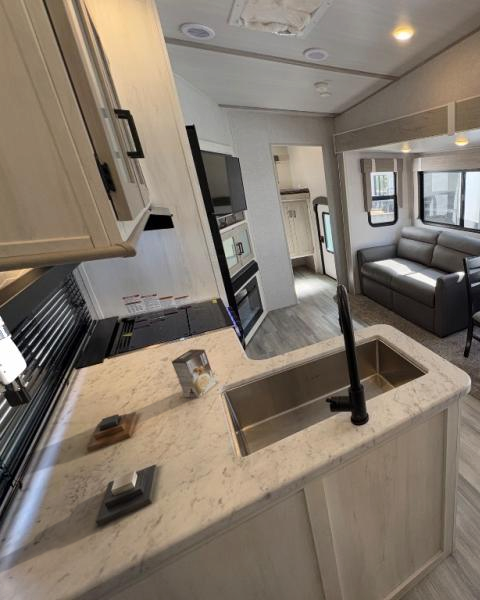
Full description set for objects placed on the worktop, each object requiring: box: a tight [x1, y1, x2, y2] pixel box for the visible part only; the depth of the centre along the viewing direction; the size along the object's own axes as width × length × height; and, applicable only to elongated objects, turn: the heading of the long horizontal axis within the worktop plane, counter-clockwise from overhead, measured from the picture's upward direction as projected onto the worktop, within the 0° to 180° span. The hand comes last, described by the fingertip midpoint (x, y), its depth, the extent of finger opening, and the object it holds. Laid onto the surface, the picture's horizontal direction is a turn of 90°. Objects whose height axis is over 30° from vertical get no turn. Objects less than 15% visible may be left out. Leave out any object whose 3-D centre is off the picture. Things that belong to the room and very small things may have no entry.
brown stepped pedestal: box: [86, 411, 138, 453], centre depth 99 cm, size 10×12×4 cm
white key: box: [111, 470, 138, 496], centre depth 76 cm, size 4×4×2 cm
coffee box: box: [171, 348, 217, 398], centre depth 116 cm, size 9×6×16 cm
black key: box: [99, 413, 120, 431], centre depth 98 cm, size 4×4×2 cm
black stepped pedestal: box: [95, 463, 159, 527], centre depth 77 cm, size 10×12×4 cm
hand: (22, 403), depth 76 cm, fingers closed
